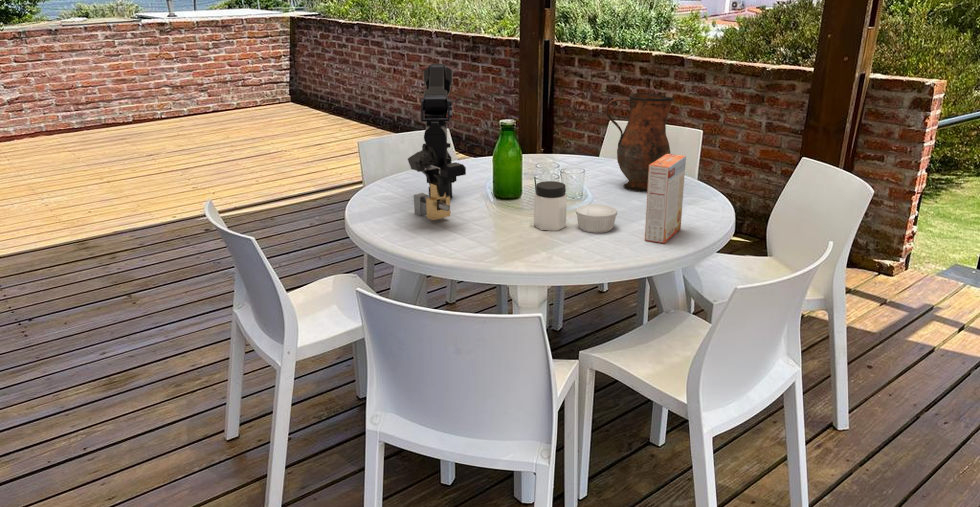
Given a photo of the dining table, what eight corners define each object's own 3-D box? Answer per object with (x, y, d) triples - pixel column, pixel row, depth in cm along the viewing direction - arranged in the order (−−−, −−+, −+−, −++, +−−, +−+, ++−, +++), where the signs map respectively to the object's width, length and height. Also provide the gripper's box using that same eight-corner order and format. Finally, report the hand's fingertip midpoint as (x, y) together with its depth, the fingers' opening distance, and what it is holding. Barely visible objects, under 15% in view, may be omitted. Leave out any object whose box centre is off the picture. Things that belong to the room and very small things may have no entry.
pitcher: (671, 194, 247) (679, 99, 237) (604, 194, 248) (609, 99, 238) (662, 181, 263) (669, 91, 252) (599, 180, 264) (603, 91, 253)
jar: (570, 229, 216) (572, 187, 212) (545, 233, 213) (546, 190, 209) (554, 220, 224) (555, 179, 219) (529, 224, 220) (529, 182, 216)
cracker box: (660, 226, 218) (665, 152, 211) (681, 229, 215) (687, 155, 208) (642, 240, 207) (647, 163, 200) (664, 244, 204) (670, 166, 197)
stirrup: (444, 213, 223) (443, 180, 220) (450, 216, 221) (449, 182, 218) (426, 217, 220) (425, 184, 216) (433, 220, 217) (432, 186, 214)
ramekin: (568, 224, 220) (568, 206, 218) (602, 219, 224) (603, 202, 222) (588, 236, 210) (589, 218, 208) (623, 231, 214) (624, 213, 213)
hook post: (423, 213, 230) (422, 192, 228) (454, 225, 219) (453, 203, 217) (411, 216, 227) (410, 194, 225) (441, 228, 217) (440, 206, 214)
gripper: (392, 138, 215) (395, 193, 220) (432, 150, 201) (434, 208, 206) (425, 133, 221) (427, 186, 227) (466, 144, 208) (467, 200, 213)
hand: (438, 195), depth 218 cm, fingers closed on stirrup, 3 cm apart
